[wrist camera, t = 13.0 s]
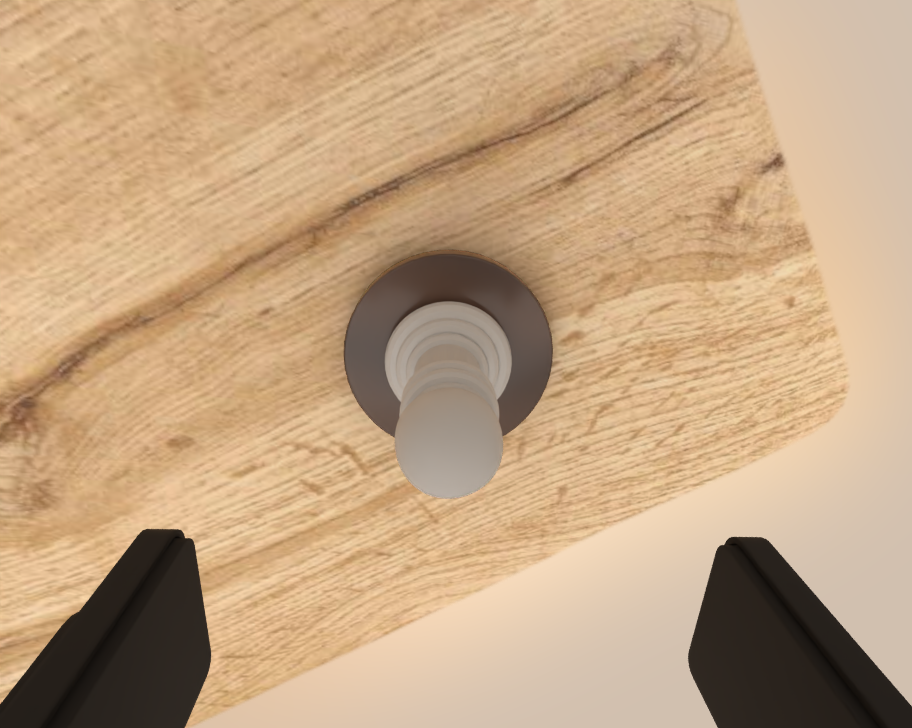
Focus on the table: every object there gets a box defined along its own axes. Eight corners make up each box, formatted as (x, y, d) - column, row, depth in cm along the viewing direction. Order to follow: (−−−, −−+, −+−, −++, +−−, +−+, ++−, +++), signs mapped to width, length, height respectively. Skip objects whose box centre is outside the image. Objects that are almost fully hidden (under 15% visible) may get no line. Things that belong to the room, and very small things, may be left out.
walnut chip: (345, 244, 23) (340, 249, 22) (558, 254, 23) (564, 258, 22) (349, 437, 26) (345, 449, 25) (537, 442, 26) (542, 454, 25)
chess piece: (404, 427, 24) (386, 565, 16) (370, 314, 23) (331, 403, 14) (520, 401, 24) (565, 527, 16) (496, 285, 22) (533, 357, 14)
